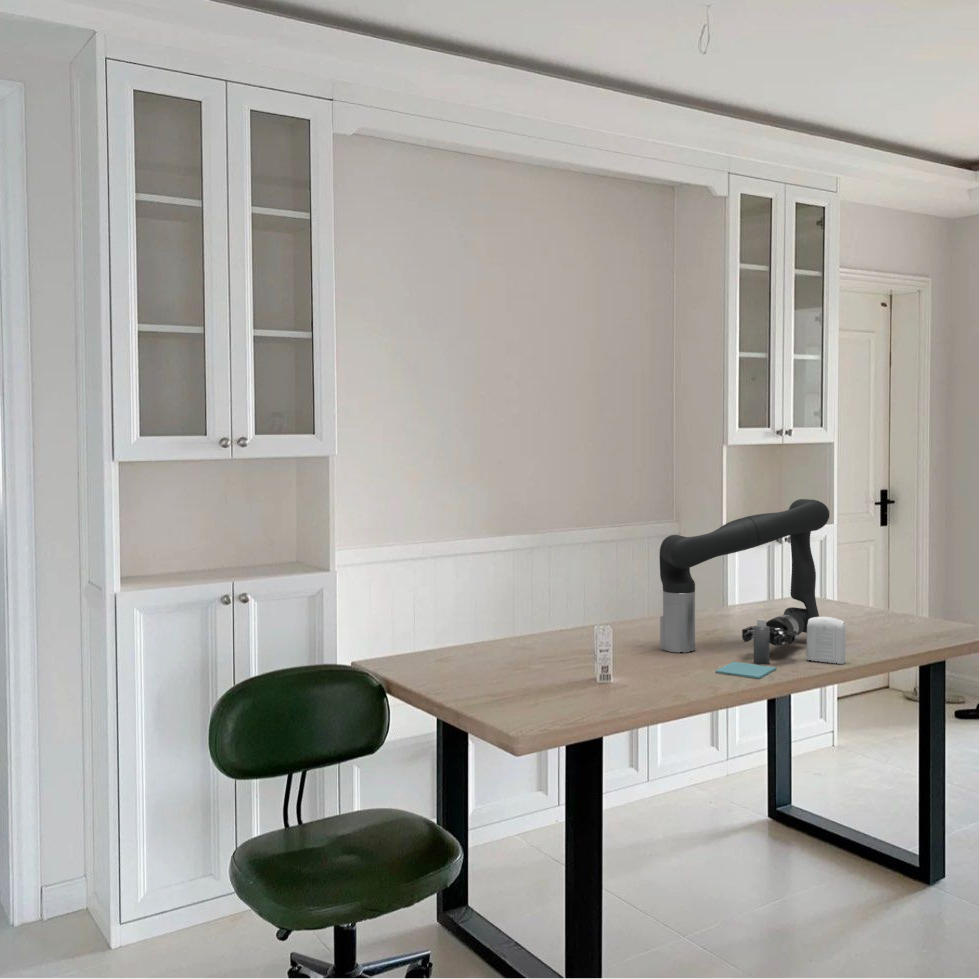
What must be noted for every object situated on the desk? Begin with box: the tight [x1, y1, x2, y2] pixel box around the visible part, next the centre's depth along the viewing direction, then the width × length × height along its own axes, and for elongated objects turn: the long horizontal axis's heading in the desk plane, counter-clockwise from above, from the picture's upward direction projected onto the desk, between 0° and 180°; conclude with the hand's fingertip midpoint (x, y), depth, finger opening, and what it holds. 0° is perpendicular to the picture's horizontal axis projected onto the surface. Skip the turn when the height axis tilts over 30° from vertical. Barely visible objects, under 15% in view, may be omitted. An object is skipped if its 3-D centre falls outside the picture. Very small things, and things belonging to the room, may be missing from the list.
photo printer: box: [805, 616, 847, 665], centre depth 281 cm, size 10×4×12 cm, turn 60°
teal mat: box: [715, 661, 777, 680], centre depth 272 cm, size 12×12×1 cm
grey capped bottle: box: [753, 618, 771, 665], centre depth 280 cm, size 4×4×12 cm
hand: (760, 639), depth 279 cm, fingers open, 8 cm apart
